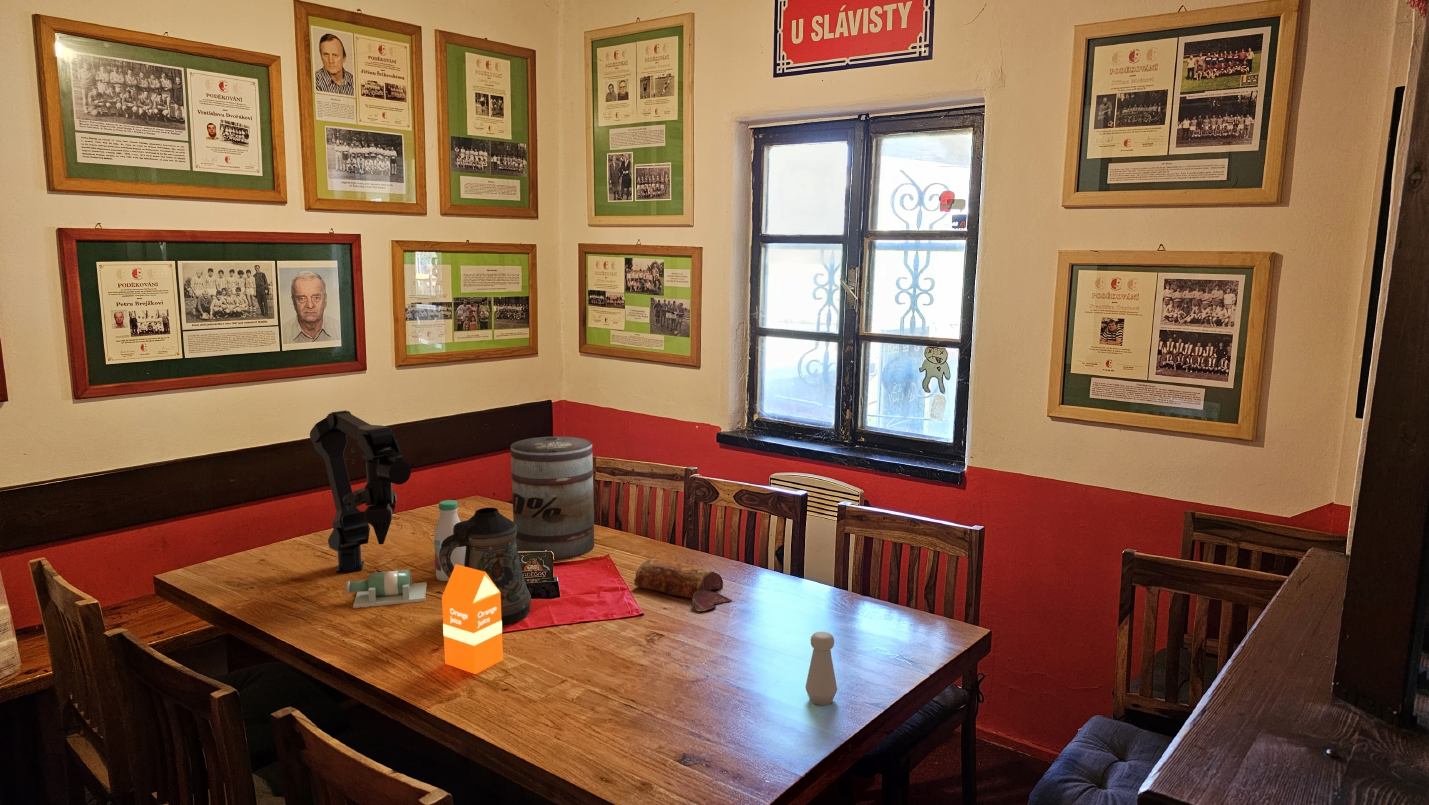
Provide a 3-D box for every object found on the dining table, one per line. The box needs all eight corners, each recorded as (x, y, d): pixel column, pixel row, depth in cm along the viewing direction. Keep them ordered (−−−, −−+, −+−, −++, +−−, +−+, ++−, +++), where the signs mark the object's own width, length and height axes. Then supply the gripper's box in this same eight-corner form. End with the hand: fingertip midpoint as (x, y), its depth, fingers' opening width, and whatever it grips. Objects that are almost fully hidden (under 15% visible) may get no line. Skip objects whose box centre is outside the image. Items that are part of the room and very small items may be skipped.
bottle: (410, 582, 218) (408, 564, 216) (409, 598, 214) (408, 580, 211) (349, 588, 215) (346, 570, 212) (346, 604, 210) (344, 586, 207)
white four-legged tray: (353, 608, 207) (352, 592, 207) (358, 591, 218) (357, 576, 217) (424, 601, 212) (424, 585, 211) (426, 585, 222) (425, 570, 222)
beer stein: (545, 607, 208) (542, 504, 204) (492, 639, 191) (488, 527, 187) (489, 596, 215) (485, 496, 211) (433, 625, 198) (427, 517, 194)
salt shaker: (803, 693, 167) (804, 628, 165) (832, 692, 168) (834, 627, 165) (808, 708, 161) (810, 641, 159) (839, 707, 162) (841, 640, 160)
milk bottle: (471, 572, 232) (468, 498, 228) (460, 582, 224) (456, 506, 221) (443, 571, 232) (439, 497, 229) (431, 581, 225) (427, 505, 222)
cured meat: (709, 616, 203) (710, 588, 202) (623, 595, 216) (623, 568, 215) (748, 593, 219) (748, 567, 218) (665, 575, 232) (665, 549, 231)
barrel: (501, 544, 254) (497, 442, 249) (571, 530, 267) (568, 433, 263) (535, 566, 236) (532, 456, 231) (608, 549, 250) (606, 446, 245)
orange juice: (475, 674, 174) (470, 577, 171) (444, 663, 179) (439, 569, 176) (503, 659, 181) (500, 566, 178) (473, 649, 186) (469, 558, 182)
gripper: (348, 471, 225) (352, 530, 228) (339, 489, 207) (343, 553, 210) (395, 468, 228) (398, 526, 231) (389, 486, 210) (393, 549, 213)
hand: (382, 538), depth 221 cm, fingers open, 9 cm apart
